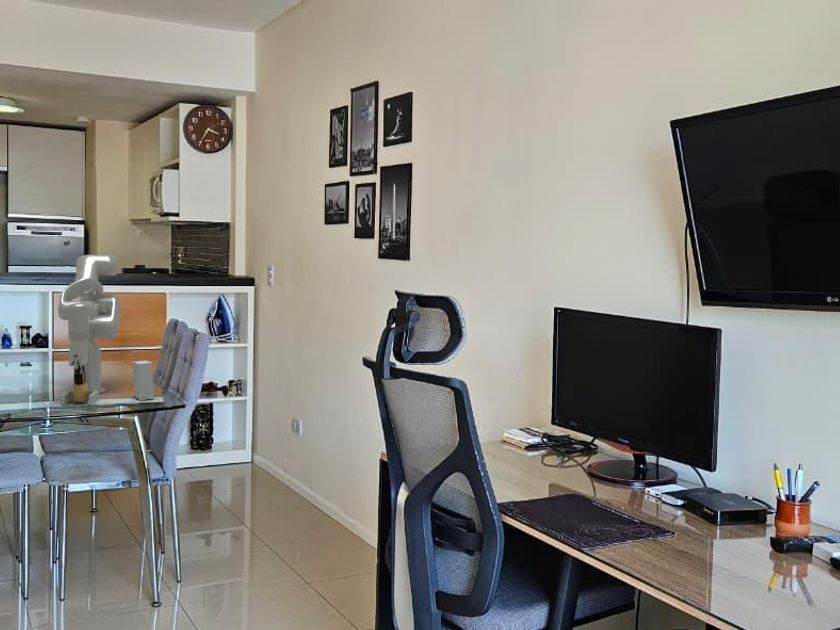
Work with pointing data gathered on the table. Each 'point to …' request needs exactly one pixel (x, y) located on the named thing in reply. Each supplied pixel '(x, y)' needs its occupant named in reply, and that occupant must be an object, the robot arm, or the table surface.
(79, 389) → the bottle
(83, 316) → the robot arm
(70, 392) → the u rest
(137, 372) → the skincare box
